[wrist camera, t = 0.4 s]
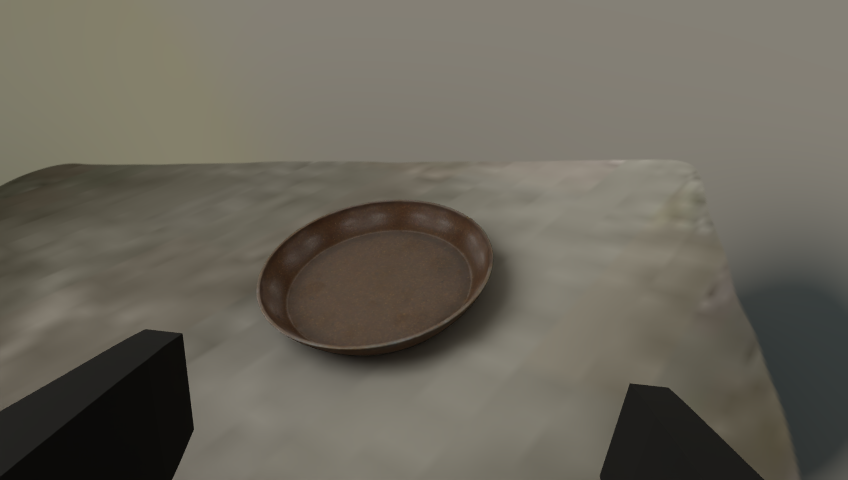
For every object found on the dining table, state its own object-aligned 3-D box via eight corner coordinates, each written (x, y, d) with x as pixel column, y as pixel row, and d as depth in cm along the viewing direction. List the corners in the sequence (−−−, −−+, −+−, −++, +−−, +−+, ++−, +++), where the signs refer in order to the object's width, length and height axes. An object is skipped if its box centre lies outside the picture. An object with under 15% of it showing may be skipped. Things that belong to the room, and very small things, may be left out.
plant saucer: (532, 336, 37) (532, 302, 35) (268, 409, 34) (254, 376, 32) (456, 210, 51) (453, 182, 49) (267, 256, 49) (256, 227, 47)
